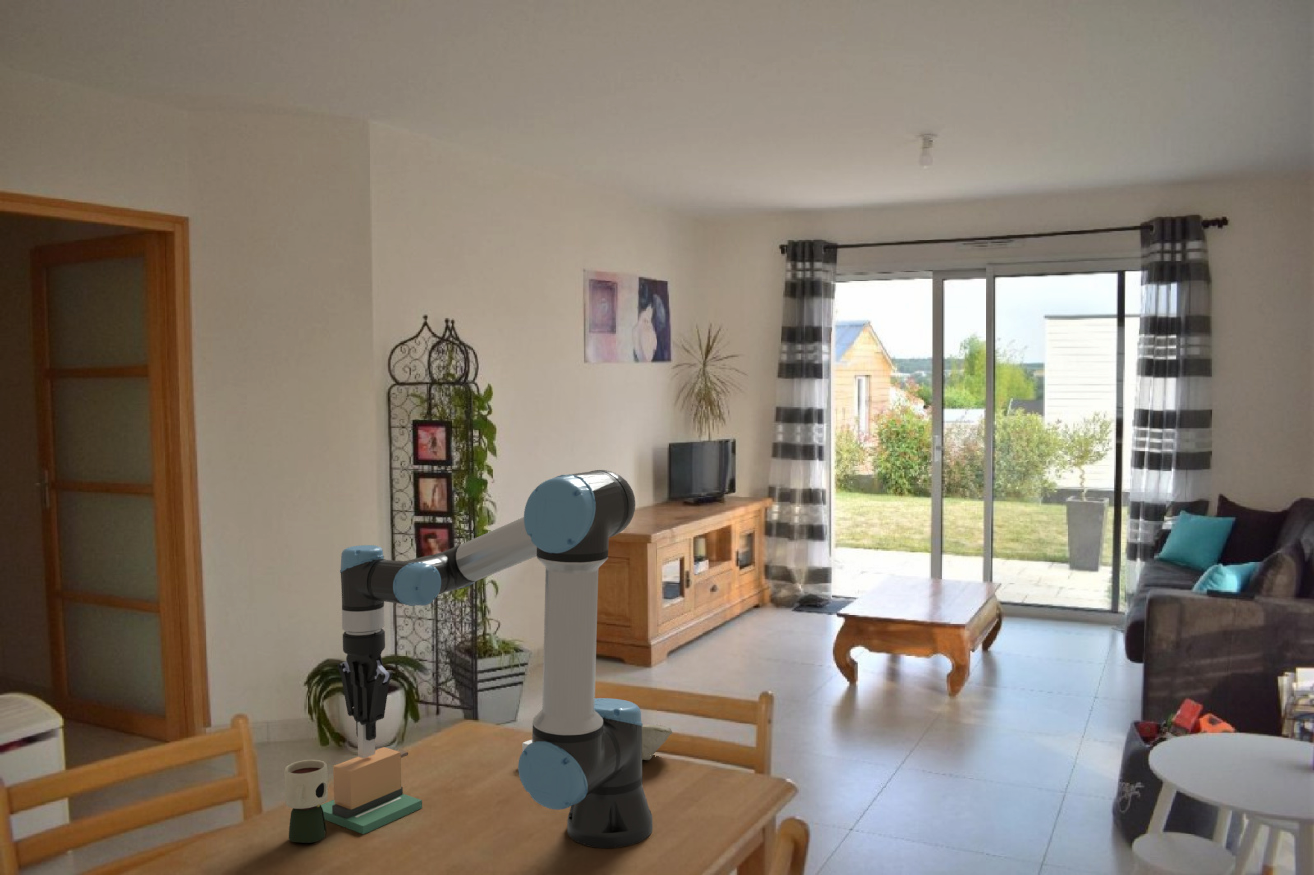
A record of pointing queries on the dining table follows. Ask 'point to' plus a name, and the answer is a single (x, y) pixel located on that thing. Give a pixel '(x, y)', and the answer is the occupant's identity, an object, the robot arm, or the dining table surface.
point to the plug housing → (367, 777)
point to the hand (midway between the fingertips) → (366, 755)
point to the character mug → (306, 799)
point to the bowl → (653, 739)
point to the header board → (372, 812)
